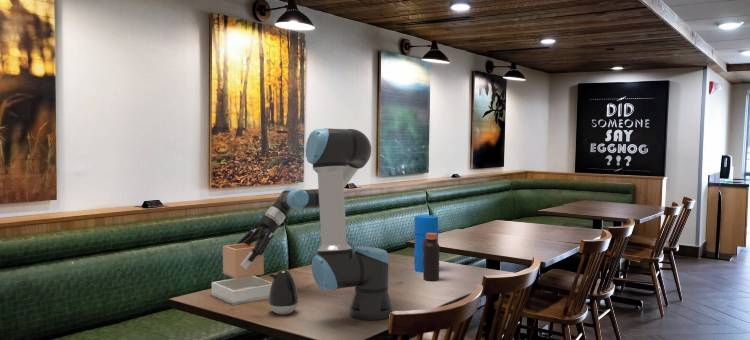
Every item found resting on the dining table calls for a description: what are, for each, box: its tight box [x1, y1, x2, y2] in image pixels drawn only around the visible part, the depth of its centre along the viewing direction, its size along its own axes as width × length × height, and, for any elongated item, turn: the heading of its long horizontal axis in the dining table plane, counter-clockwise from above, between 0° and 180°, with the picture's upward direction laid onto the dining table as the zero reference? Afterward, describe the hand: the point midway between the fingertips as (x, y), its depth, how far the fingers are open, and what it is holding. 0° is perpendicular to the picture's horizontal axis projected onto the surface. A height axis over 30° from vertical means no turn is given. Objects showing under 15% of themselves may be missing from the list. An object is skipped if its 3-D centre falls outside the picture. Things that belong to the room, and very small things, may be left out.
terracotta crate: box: [222, 242, 265, 279], centre depth 230 cm, size 10×12×11 cm
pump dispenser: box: [268, 269, 299, 315], centre depth 209 cm, size 10×10×15 cm
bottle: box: [422, 233, 440, 282], centre depth 258 cm, size 7×7×20 cm
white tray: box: [211, 275, 273, 306], centre depth 230 cm, size 18×18×5 cm
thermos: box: [413, 214, 439, 273], centre depth 275 cm, size 11×11×25 cm
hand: (236, 265), depth 228 cm, fingers closed on terracotta crate, 10 cm apart
